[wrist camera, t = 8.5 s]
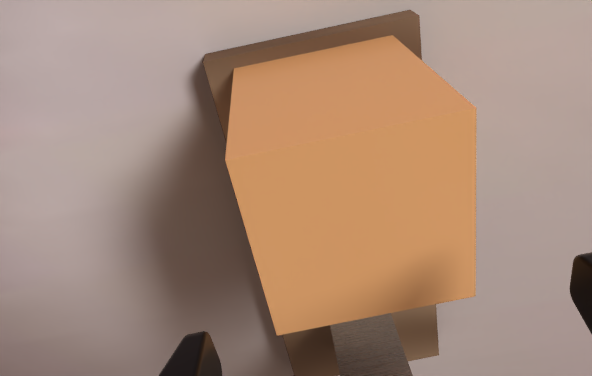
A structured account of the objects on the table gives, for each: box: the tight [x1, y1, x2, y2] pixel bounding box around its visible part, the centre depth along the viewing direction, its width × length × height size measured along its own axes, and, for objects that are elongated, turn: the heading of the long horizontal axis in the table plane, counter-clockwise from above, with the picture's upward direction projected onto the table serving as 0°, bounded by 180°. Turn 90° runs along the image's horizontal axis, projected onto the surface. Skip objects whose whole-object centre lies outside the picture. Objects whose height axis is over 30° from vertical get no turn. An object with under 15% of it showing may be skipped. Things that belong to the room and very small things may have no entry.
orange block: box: [225, 35, 476, 336], centre depth 14 cm, size 5×5×7 cm
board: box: [203, 10, 439, 376], centre depth 20 cm, size 16×7×1 cm, turn 11°
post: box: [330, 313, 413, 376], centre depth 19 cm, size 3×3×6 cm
